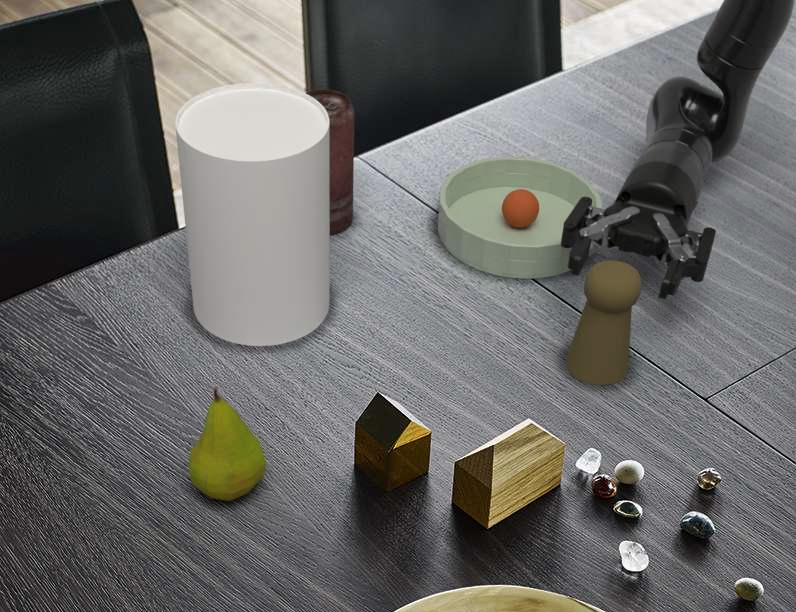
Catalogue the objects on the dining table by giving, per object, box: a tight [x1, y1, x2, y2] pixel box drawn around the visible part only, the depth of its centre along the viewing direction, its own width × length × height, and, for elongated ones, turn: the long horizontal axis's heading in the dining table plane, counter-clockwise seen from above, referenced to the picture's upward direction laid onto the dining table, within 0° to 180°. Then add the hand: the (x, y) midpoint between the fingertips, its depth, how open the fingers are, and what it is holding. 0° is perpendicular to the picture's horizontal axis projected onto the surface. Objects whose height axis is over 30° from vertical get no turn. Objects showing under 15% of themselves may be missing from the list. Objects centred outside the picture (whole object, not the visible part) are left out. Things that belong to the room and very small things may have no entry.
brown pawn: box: [565, 259, 643, 386], centre depth 117 cm, size 6×6×11 cm
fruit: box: [188, 386, 267, 502], centre depth 103 cm, size 6×6×12 cm
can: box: [305, 88, 355, 236], centre depth 131 cm, size 6×6×14 cm
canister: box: [174, 82, 331, 347], centre depth 118 cm, size 14×14×20 cm
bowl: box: [437, 155, 603, 280], centre depth 134 cm, size 17×17×4 cm
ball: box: [502, 189, 539, 227], centre depth 134 cm, size 4×4×4 cm
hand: (619, 279), depth 118 cm, fingers open, 8 cm apart
